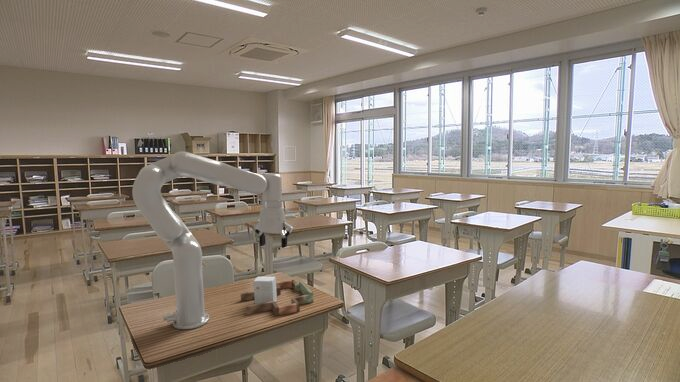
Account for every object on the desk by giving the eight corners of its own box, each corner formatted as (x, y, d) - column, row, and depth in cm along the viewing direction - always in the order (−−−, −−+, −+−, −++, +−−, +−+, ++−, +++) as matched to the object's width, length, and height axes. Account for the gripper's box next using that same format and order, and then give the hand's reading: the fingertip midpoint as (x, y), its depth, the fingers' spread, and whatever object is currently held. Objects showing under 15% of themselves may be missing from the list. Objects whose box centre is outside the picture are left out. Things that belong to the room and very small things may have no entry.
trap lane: (250, 320, 138) (249, 310, 137) (238, 295, 163) (238, 286, 163) (318, 307, 149) (318, 297, 148) (297, 285, 174) (297, 276, 174)
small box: (277, 300, 156) (276, 276, 155) (273, 306, 151) (272, 281, 150) (258, 300, 157) (257, 276, 156) (254, 305, 152) (253, 280, 151)
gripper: (248, 204, 148) (249, 246, 150) (287, 206, 143) (288, 250, 144) (258, 202, 155) (259, 242, 157) (296, 204, 150) (296, 245, 151)
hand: (273, 246), depth 151 cm, fingers open, 9 cm apart
